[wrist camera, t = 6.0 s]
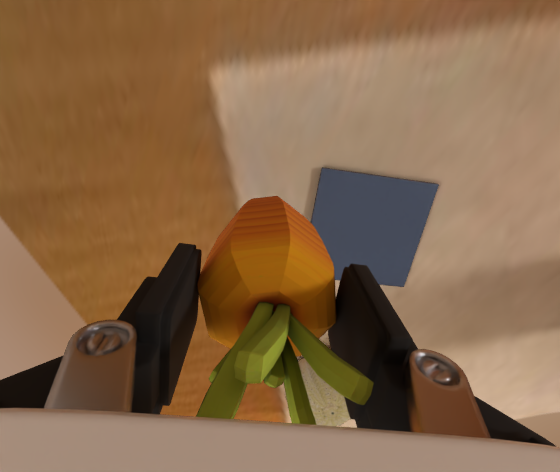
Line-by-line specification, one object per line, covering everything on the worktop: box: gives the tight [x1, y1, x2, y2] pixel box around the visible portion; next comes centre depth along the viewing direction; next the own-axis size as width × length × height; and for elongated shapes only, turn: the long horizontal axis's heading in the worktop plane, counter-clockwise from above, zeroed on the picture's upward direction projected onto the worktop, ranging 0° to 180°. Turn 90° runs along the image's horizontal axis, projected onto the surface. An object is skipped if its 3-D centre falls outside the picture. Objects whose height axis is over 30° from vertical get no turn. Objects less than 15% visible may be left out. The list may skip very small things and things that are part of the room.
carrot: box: [196, 196, 374, 425], centre depth 13 cm, size 5×5×15 cm
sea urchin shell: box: [286, 358, 351, 426], centre depth 36 cm, size 9×8×8 cm
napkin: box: [311, 167, 439, 287], centre depth 31 cm, size 11×11×1 cm
